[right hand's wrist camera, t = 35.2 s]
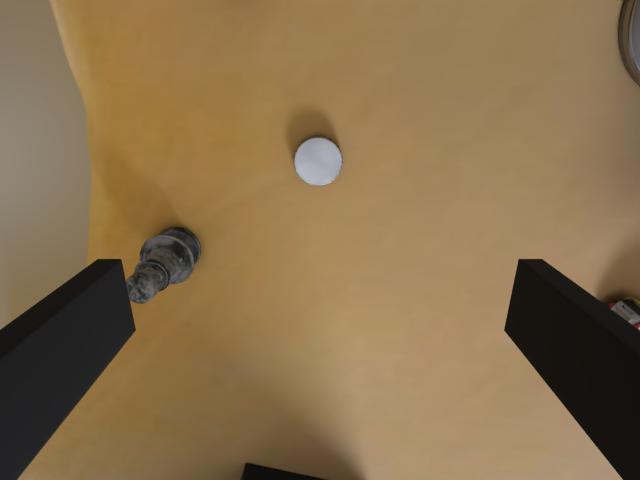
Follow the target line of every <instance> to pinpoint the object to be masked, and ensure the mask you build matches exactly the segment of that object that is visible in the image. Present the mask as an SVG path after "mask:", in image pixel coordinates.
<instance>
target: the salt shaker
mask: <svg viewBox="0 0 640 480" xmlns="http://www.w3.org/2000/svg"><path fill="white" fill-rule="evenodd" d="M200 254H201V247H200V243H199V241H198V239H197V238H196V237H195V236H194V235H193V234H192V233H191V232H190V231H188V230H186V229H183V228H179V227H172V228H168V229H165V230H164V231H163V232H161V233H160V234H159V235H157V236H155V237H152V238H150V239H149V240H147V241H146V242H145V243H144V245H143V246H142V248H141V252H140V261H141V262H140V263H138V264H137V266H136V267H135V271H134V274H133V275H131V276H130V277H129V278H128V279H127V281H126V285H127V290H128V295H129V300H131V301H132V302H135V303H140V304H141V303H146V302H148V301H150V300H151V299H152V298H153V297H154V296H155V295H156V293H157V292H159V291H162V290H164V289H165V288H167V286H168V285H169V284H177V283H180V282H183V281H184V280H186V279H187V278H188V277H189V276H190V275H191V273H192V271H193V268H194V264H195V263H196V262H197V261H198V259H199V257H200Z"/></svg>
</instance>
